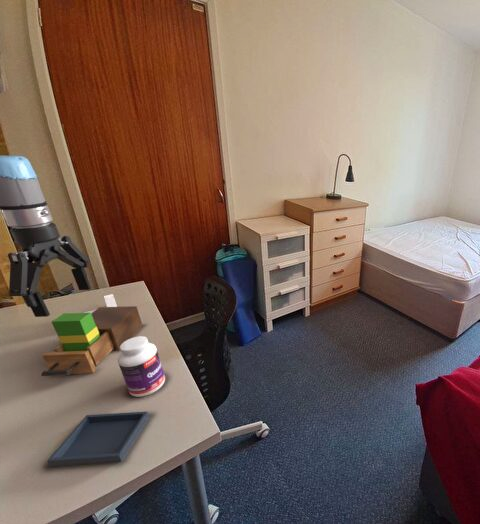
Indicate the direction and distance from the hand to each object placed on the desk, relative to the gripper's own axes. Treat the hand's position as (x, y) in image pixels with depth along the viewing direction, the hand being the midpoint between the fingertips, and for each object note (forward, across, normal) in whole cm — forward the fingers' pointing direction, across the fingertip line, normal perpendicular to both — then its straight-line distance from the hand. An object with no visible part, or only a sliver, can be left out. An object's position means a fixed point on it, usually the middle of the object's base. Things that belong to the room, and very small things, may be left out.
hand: (65, 301), depth 75 cm
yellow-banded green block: (+18, 0, 0) cm, 18 cm away
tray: (+20, -26, -21) cm, 39 cm away
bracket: (+20, +22, +13) cm, 33 cm away
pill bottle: (+21, -11, -22) cm, 32 cm away
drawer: (+19, -2, 0) cm, 20 cm away
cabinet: (+20, +10, 0) cm, 23 cm away
